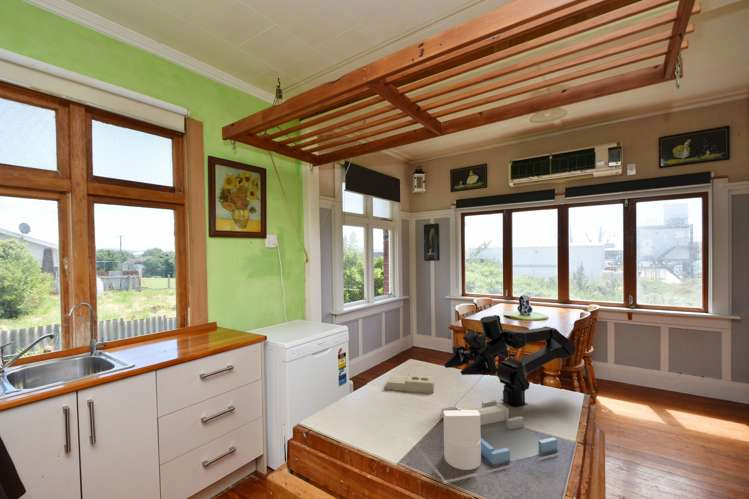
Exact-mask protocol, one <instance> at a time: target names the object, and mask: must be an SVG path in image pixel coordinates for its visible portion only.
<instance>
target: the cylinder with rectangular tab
mask: <svg viewBox="0 0 749 499" xmlns="http://www.w3.org/2000/svg"><path fill="white" fill-rule="evenodd" d="M443 412H444V418H443V450H444V451H443V452H444V453H443V457H444V461H445V462H446V463H447V464H448V465H450V466H451V467H453V468H455V469H458V470H463V471H464V470H465V471H470V470H472V471H473V470H475V469H477V468H479V467H480V465H481V463H482V454H481V432H480V413H479V412H478V411H477V410H472V409H460V410H459V409H457V410H444V411H443Z"/></svg>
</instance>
